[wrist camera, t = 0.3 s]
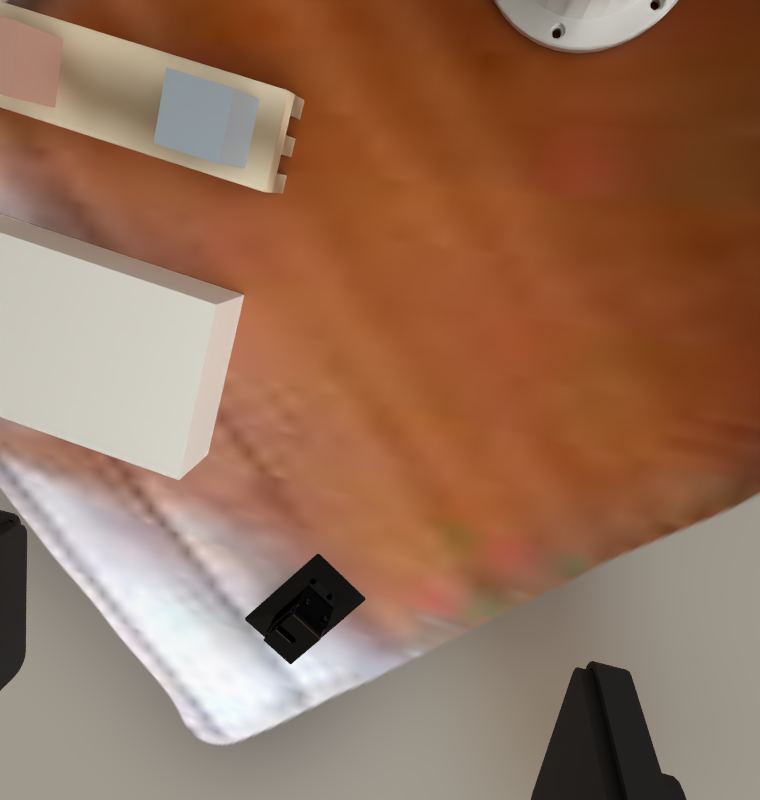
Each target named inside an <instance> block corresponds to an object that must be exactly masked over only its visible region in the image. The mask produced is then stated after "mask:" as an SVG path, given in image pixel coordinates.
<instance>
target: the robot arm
mask: <svg viewBox="0 0 760 800" xmlns="http://www.w3.org/2000/svg"><path fill="white" fill-rule="evenodd" d="M493 1H494V3H495V4H496V6H497V7H498V9H499V10H500V12H501V13H502V15H503V16H504V18H505V19H506V20H507V21H508V22H509V23H510V24H511V25H512V26H513V27H514V28H515V29H516V30H517V31H518V32H519V33H520V34H522V35H524V36H525V37H527V38H528V39H530V40H531V41H533V42H535V43H536V44H538V45H541V46H544V47H547V48H550V49H552V50H555V51H562V52H569V53H588V52H598V51H602V50H605V49H609V48H612V47H616V46H619V45H621V44H623V43H625V42H627V41H629V40H631V39H633V38H635V37H637V36H639V35H641V34H642V33H643V32H645V31H646V30H647V29H649V28H650V27H652V26H653V25H654V24H656V23H657V22H658V21H659V20H660V19H661V18H662V17H663V16H664V15H665V14H666V13H667V12H668V11H669V10H670V9H671V8H672V7H673V6H674V5H675V4H676V3H677V1H678V0H493ZM652 2H656V3H658V9H657V10H653V9H651V7H650V4H651V3H652ZM555 30H558V31H559V32H560V34H561V36H560V37H559V38H554V37H553V36H552V32H553V31H555ZM26 574H27V530H26V528H25V526H23V525H21V523H20V519H19V517H18V516H17V515H15V514H13V513H9V512H5V511H1V510H0V690H1V689H2V688H3V687H4V686H5V685H6V684H7V683H8V682H10V681H11V680H12V678H14V676H15V675H16V674H17V673H18V671H19V669H20V668H21V666H22V664H23V662H24V658H25V653H26V579H27V577H26V576H27V575H26ZM531 800H686V797H685V794H684V792H683V789H682V788H681V785H680V783H679V781H678V780H677V779H676V778H675V777H674V776H670V775H666V774H663V773H661V769H660V766H659V763H658V760H657V757H656V754H655V750H654V748H653V744H652V741H651V737H650V735H649V731H648V728H647V724H646V721H645V718H644V715H643V712H642V709H641V705H640V702H639V699H638V696H637V692H636V690H635V686H634V683H633V680H632V676H631V674H630V672H629V671H627V670H625V669H621V668H617V667H613V666H609V665H605V664H602V663H598V662H594V661H592V662H589V664H588V665H587V667H586V669H582V668H578V667H577V668H575V670H574V672H573V674H572V677H571V680H570V683H569V686H568V689H567V692H566V695H565V698H564V701H563V704H562V707H561V710H560V713H559V716H558V719H557V722H556V724H555V728H554V730H553V733H552V737H551V739H550V743H549V745H548V749H547V751H546V754H545V757H544V760H543V763H542V766H541V770H540V772H539V775H538V778H537V781H536V785H535V788H534V790H533V793H532V797H531Z"/></svg>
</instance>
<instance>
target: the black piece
mask: <svg viewBox="0 0 760 800" xmlns="http://www.w3.org/2000/svg"><path fill="white" fill-rule="evenodd" d="M363 601H365V597H364V596H363V595H361V594H360V593H359V592H358V591H357V590H356V589H355V588H354V587H353V586H352V585H351V584H350V583H349V582H348V581H347V580H346V579H345V578H344V577H343V576H342V575H341V574H340V573H339V572H338V571H336V570H335V569H334V568H333V567H332V566H331V565H330V564H329V563H328V562H327V561H326V560H325V559H324V558H323V557H322V556H321V555H320V554H317V555H316V556H314V557H313V558H312V559H311V560H310V561H309V562H308V563H307V564H305V565H304V566H303V567H302V568H301V569H300V570H299V571H298V572H296V573H295V574H294V575H293V576H292V577H291V578H290V579H288V580H287V581H286V582H285V583H284V584H283V585H282V586H281V587H279V588H278V589H277V590H276V591H275V592H274V593H273V594H272V595H270V596H269V597H268V598H267V599H266V600H265V601H264V602H263V603H261V604H260V605H259V606H258V607H257V608H256V609H255V610H254V611H252V612H251V613H250V614H249V615H248V616H247V617H246V618H245V620H246V621H247V622H248V623H249V624H251V625H252V626H253V627H254V628H255V629H256V630H257V631H259V632H260V633H261V634H262V635H263V636H264V637H265V638H264V641H265V642H266V643H267V644H268V645H269V646H270V647H272V648H273V649H274V650H275V651H276V652H277V653H278V654H279V655H280V656H282V657H283V658H284V659H285V660H286V661H287V662H288V663H289V664H292V663H293V662H294V661H295V660H296V659H298V658H299V657H300V656H301V655H302V654H304V653H305V652H306V651H307V650H308V649H310V648H311V647H312V646H313V645H314V644H315V643H317V642H318V641H319V640H320V639H321V638H322V637H323V636H324V635H325V634H326V633H327V632H329V631H330V630H331V629H332V628H333V627H334V626H336V625H337V624H338V623H339V622H340V621H341V620H343V619H344V618H345V617H346V616H347V615H348V614H350V613H351V612H352V611H353V610H354V609H355V608H357V607H358V606H359V605H360V604H361V603H362V602H363Z"/></svg>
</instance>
